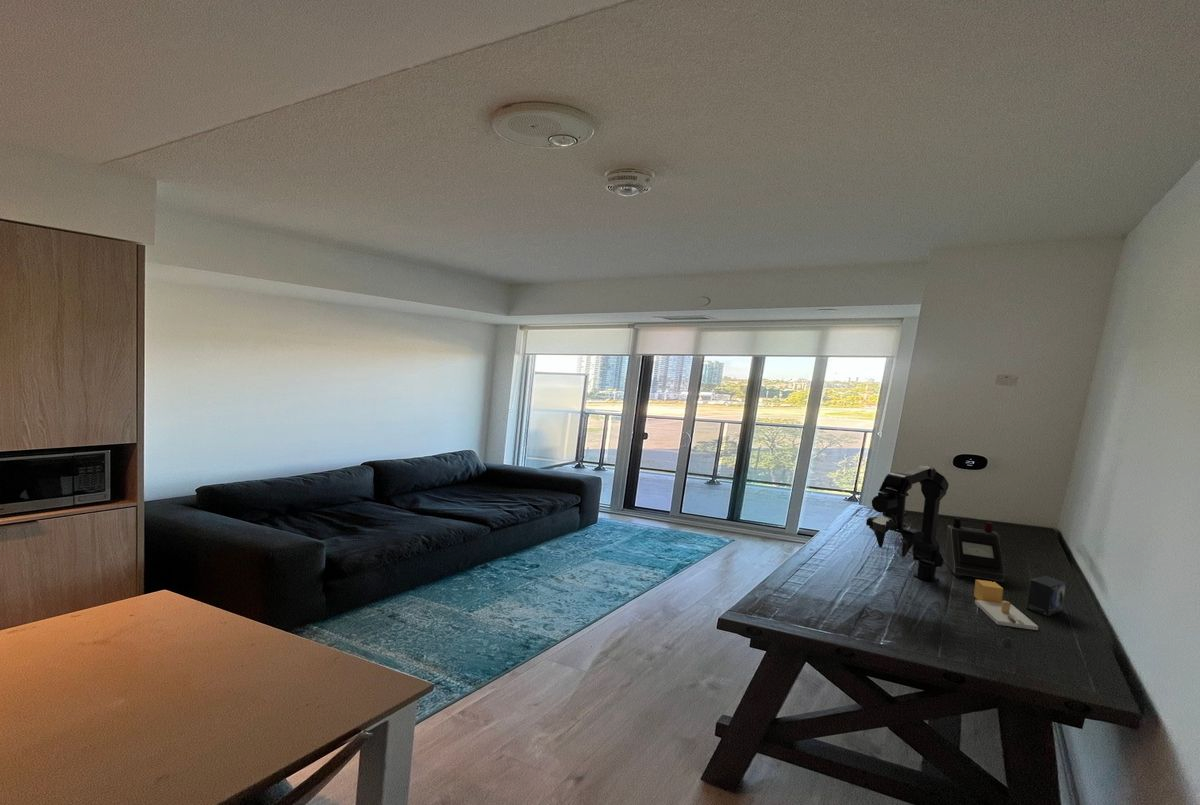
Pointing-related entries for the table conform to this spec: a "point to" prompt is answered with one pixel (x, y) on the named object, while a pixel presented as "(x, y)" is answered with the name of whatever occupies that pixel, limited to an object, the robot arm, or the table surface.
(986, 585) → the mustard yellow cube
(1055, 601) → the small box
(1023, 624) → the plate
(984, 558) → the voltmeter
